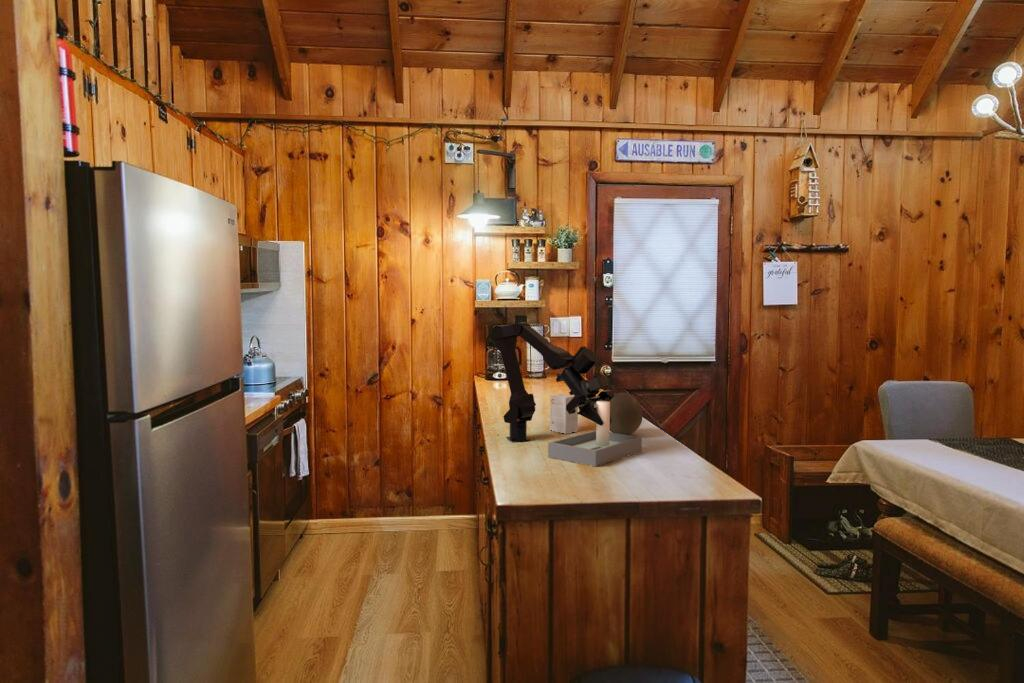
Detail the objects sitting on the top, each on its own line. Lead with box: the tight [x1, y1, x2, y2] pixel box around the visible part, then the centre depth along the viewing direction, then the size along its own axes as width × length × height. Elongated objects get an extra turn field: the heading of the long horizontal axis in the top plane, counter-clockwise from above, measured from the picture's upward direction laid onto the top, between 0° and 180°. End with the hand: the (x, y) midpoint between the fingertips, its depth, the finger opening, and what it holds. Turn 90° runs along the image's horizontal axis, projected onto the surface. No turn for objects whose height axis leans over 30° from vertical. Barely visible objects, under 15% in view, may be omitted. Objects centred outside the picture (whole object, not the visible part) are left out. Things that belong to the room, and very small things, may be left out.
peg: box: [595, 401, 611, 446], centre depth 197 cm, size 4×4×13 cm
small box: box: [549, 393, 579, 435], centre depth 233 cm, size 8×6×13 cm
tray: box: [547, 429, 643, 467], centre depth 199 cm, size 17×25×4 cm
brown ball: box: [609, 392, 644, 436], centre depth 226 cm, size 14×14×15 cm
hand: (606, 423), depth 196 cm, fingers closed on peg, 4 cm apart
